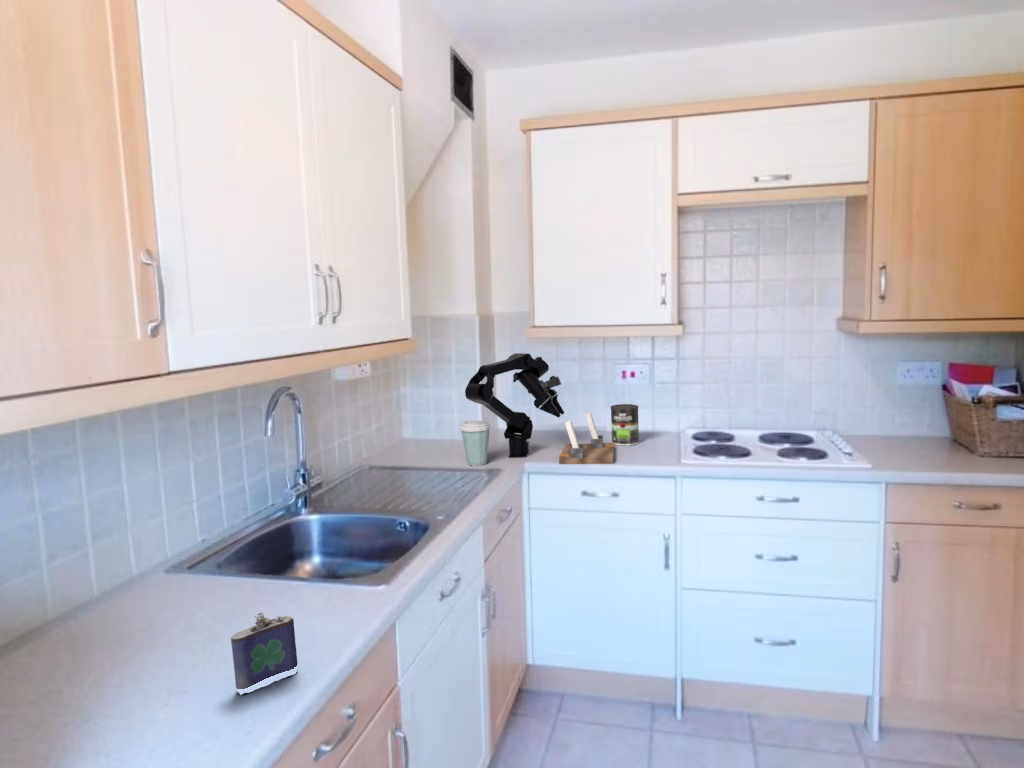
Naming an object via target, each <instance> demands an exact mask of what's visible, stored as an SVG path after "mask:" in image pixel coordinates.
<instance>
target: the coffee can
mask: <svg viewBox="0 0 1024 768" xmlns="http://www.w3.org/2000/svg"><path fill="white" fill-rule="evenodd" d="M610 420H611V421H610V422H611V424H610V425H611V443H614V446H622V447H625V446H626V447H629V446H636V445H639V444H640V441H639V439H640V436H639V433H640V432H639V431H640V430H639V405H637V404H633V403H632V404H629V403H622V404H613V405H611V406H610Z"/></svg>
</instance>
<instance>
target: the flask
mask: <svg viewBox="0 0 1024 768" xmlns="http://www.w3.org/2000/svg"><path fill="white" fill-rule="evenodd" d="M254 618H256V619H255V620H256V621H255V622H254V624H255V625H253V626H250V627H248V628H246V629H243V630H240V631H238V632H236V633H234V634H232V635H231V638H230V644H231V649H232V650H231V651H232V653H231V654H232V660H233V669H234V679H235V689H236V688H237V689H245V688H248V687H250V686H252V685H254V684H256V683H258V682H260V681H262V680H264V679H266V678H269V677H271V676H274V675H276V674H279V673H282V672H285V671H289V670H291V669H294V667H296V666H297V664H298V657H297V656H298V655H297V645H296V644H297V643H296V635H295V634H296V633H295V621H294V618H293V617H292V616H288V615H284V616H281V615H279V616H276V617H275V618H271V619H269V618H268V617H265V613H264V612H258V613H257V614H256V615H254ZM298 665H299V664H298Z"/></svg>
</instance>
